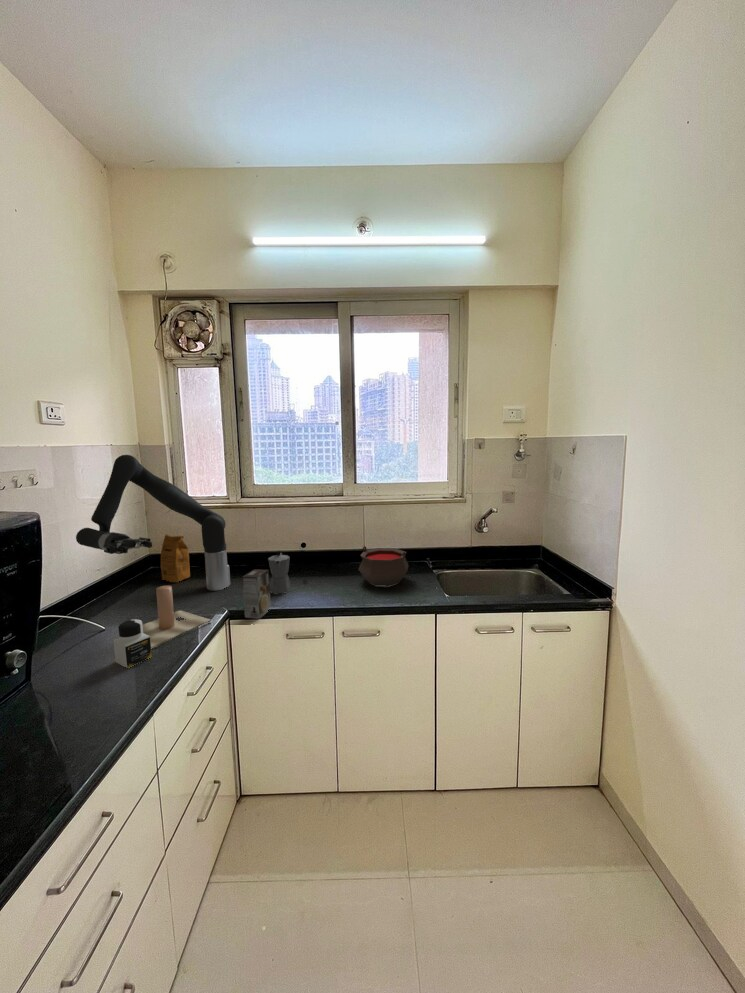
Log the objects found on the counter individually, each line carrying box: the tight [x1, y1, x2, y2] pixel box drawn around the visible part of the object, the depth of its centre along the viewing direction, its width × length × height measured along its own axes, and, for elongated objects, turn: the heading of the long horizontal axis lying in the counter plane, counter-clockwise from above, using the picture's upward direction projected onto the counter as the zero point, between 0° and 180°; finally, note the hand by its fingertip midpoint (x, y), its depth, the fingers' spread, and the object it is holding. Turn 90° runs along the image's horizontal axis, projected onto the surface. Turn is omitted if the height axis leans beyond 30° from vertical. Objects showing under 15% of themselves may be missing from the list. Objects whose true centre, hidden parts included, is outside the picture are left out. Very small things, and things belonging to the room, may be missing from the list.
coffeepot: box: [267, 550, 292, 594], centre depth 173 cm, size 15×9×18 cm, turn 8°
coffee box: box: [241, 568, 272, 620], centre depth 149 cm, size 9×6×16 cm
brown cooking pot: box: [358, 545, 409, 586], centre depth 181 cm, size 24×24×16 cm
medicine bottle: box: [113, 618, 153, 669], centre depth 117 cm, size 7×7×12 cm
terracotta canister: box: [155, 585, 175, 630], centre depth 136 cm, size 5×5×14 cm
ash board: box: [142, 610, 211, 649], centre depth 137 cm, size 22×18×1 cm
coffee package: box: [160, 534, 191, 583], centre depth 190 cm, size 10×12×22 cm
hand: (139, 547), depth 140 cm, fingers open, 8 cm apart
